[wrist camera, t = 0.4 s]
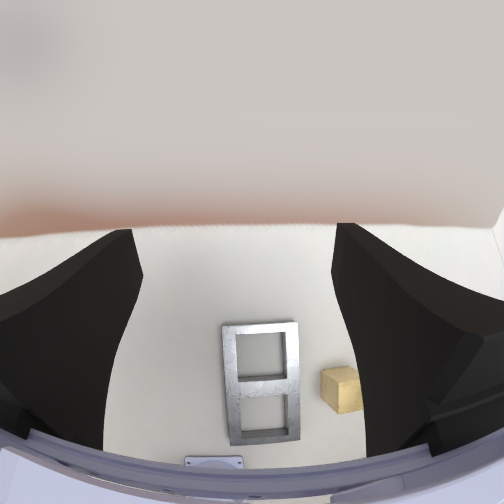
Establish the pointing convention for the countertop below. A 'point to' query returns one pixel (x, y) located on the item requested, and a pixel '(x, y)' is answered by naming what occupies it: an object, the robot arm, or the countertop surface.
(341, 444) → the countertop surface
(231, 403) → the steel window frame
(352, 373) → the light brown wooden block
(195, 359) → the countertop surface
